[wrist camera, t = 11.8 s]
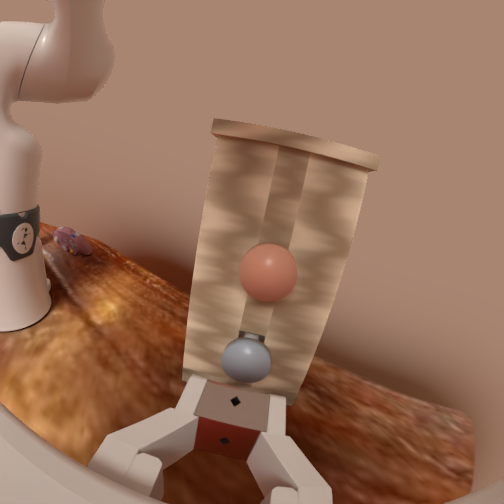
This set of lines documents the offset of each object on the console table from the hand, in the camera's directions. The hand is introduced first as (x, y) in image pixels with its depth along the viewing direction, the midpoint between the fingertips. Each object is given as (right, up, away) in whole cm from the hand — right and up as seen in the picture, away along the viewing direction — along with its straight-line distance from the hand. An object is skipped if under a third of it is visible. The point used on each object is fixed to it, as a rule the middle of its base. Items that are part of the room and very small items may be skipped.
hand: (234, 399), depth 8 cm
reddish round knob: (+2, +2, +16) cm, 16 cm away
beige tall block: (-1, -10, +20) cm, 23 cm away
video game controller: (-39, +4, +43) cm, 58 cm away
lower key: (0, -5, +18) cm, 19 cm away
